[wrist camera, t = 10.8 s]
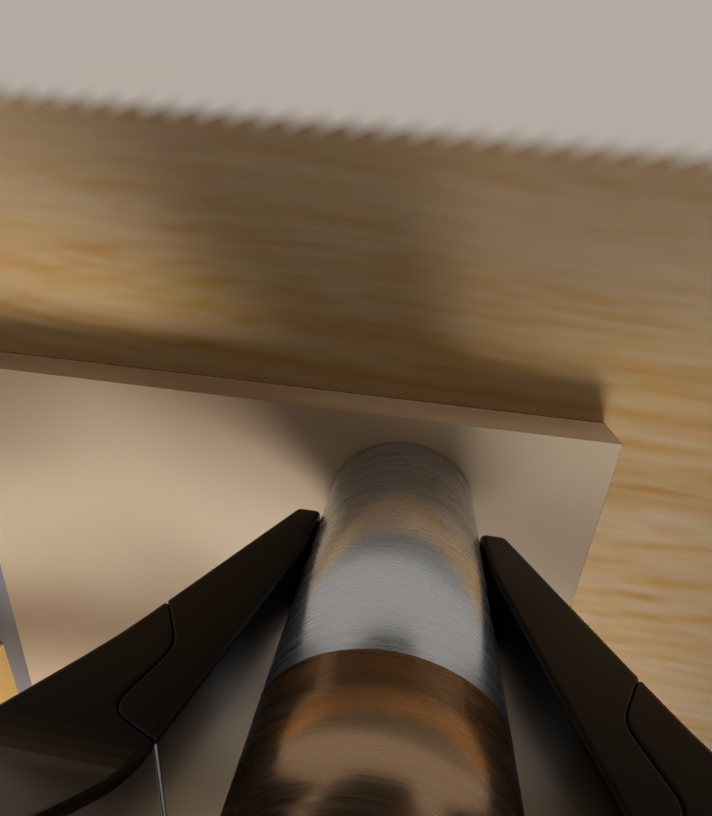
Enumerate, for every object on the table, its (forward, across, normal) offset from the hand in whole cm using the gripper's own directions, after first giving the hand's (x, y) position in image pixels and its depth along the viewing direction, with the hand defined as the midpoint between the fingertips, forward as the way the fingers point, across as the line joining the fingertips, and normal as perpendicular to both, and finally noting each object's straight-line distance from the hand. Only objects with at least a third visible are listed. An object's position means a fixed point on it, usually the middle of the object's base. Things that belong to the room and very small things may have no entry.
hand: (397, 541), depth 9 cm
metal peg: (+1, 0, 0) cm, 1 cm away
